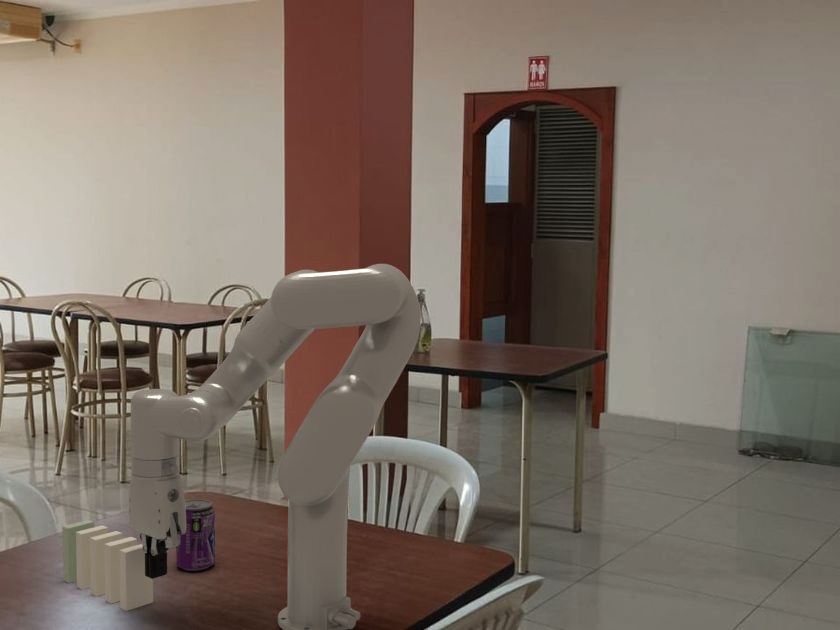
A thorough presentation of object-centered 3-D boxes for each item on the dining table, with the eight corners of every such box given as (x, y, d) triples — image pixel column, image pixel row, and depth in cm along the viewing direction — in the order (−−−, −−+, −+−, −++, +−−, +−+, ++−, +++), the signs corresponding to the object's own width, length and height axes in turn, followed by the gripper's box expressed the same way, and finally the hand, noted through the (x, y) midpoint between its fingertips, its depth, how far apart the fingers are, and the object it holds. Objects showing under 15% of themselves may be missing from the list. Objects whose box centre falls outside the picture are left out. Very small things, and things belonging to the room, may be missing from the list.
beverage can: (205, 574, 187) (205, 510, 186) (169, 571, 188) (169, 507, 187) (221, 561, 194) (220, 499, 193) (186, 558, 195) (185, 497, 194)
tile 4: (108, 582, 183) (108, 527, 182) (82, 590, 179) (81, 534, 178) (103, 579, 184) (102, 525, 183) (76, 587, 180) (75, 531, 179)
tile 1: (153, 602, 174) (152, 545, 173) (126, 611, 170) (125, 552, 169) (146, 599, 175) (146, 542, 174) (120, 608, 171) (119, 550, 170)
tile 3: (123, 588, 180) (122, 533, 179) (96, 596, 176) (95, 540, 175) (117, 585, 181) (116, 530, 180) (90, 594, 177) (89, 537, 176)
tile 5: (95, 575, 186) (94, 522, 184) (68, 583, 182) (67, 528, 181) (89, 573, 187) (88, 519, 186) (63, 580, 183) (62, 526, 182)
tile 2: (137, 595, 177) (137, 539, 176) (111, 603, 173) (110, 546, 172) (131, 592, 178) (131, 536, 177) (105, 600, 174) (104, 543, 173)
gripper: (202, 470, 164) (202, 581, 166) (148, 454, 174) (149, 559, 176) (163, 479, 158) (163, 593, 160) (109, 461, 168) (110, 570, 170)
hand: (156, 575), depth 168 cm, fingers closed
